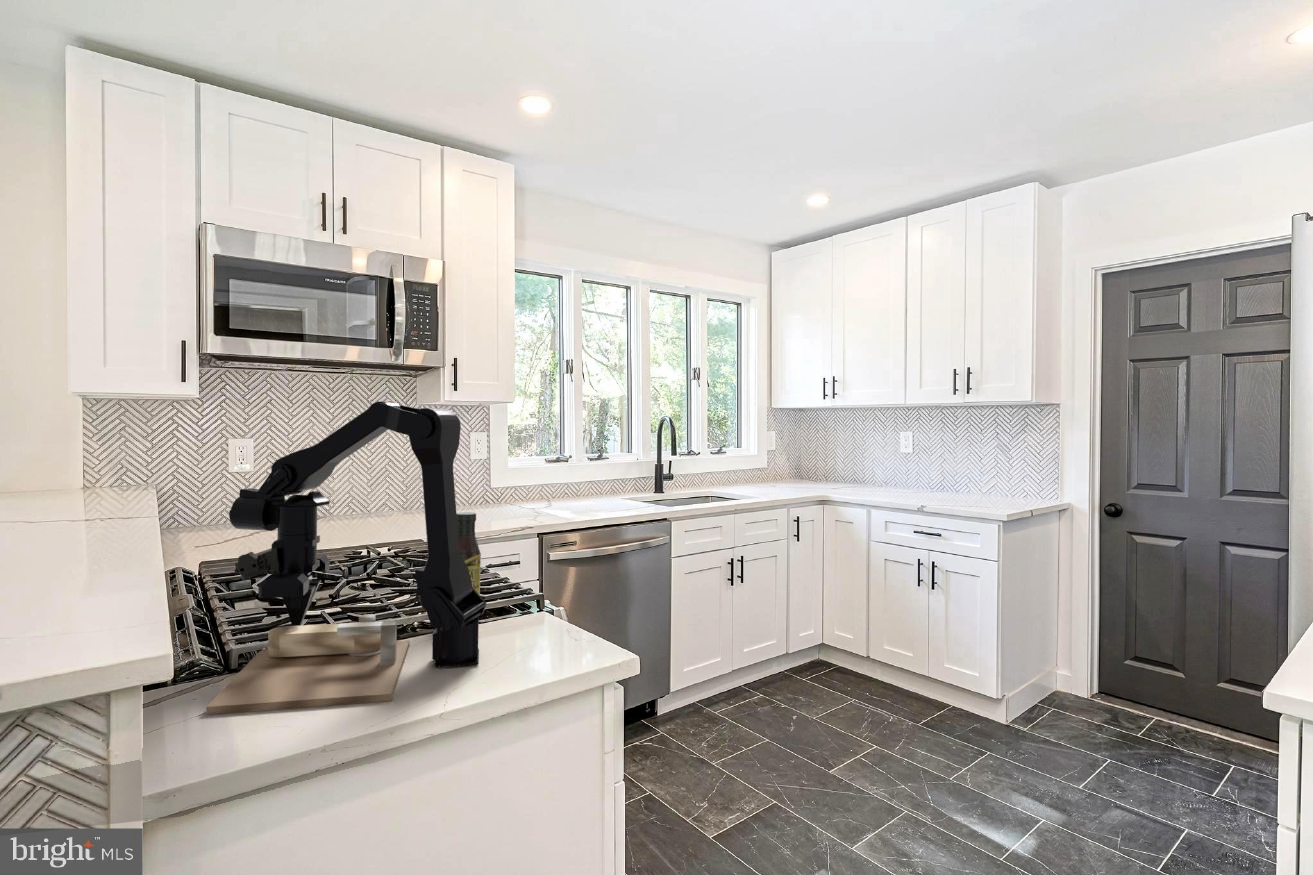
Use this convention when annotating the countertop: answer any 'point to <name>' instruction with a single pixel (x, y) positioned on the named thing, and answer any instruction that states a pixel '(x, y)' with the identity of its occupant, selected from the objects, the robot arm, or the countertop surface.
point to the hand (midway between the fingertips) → (296, 626)
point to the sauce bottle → (469, 546)
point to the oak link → (318, 641)
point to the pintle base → (318, 675)
